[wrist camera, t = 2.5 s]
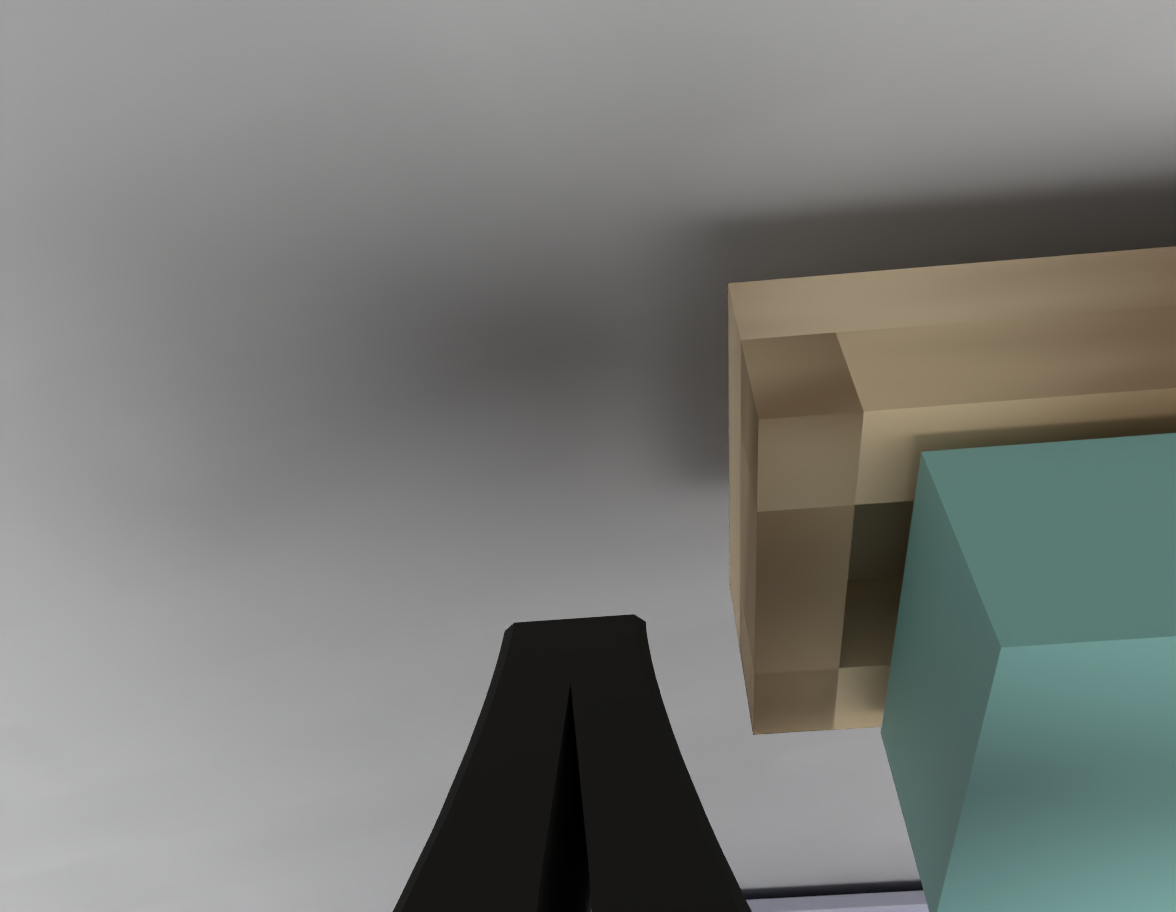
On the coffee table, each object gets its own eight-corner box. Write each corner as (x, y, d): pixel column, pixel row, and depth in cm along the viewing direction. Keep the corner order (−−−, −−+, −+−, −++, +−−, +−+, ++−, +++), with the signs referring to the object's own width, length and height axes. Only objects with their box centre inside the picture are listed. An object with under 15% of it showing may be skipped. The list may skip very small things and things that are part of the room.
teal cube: (1278, 337, 11) (1542, 611, 8) (1167, 623, 14) (1332, 905, 11) (886, 367, 11) (1001, 648, 8) (856, 643, 14) (934, 926, 11)
